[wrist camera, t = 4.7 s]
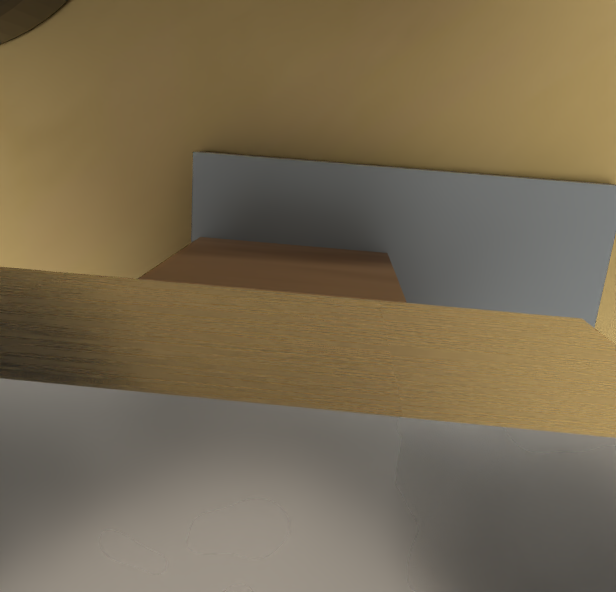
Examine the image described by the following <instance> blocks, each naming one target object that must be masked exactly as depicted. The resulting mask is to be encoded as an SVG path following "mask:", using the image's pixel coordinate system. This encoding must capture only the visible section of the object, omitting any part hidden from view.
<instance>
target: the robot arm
mask: <svg viewBox="0 0 616 592" xmlns="http://www.w3.org/2000/svg"><path fill="white" fill-rule="evenodd" d="M66 1H67V0H0V44H1V43H4V42H6V41H8V40H11V39H13V38H16V37H17V36H19V35H21V34H23V33H25V32H27V31H29V30H30V29H32V28H33V27H35V26H37V25H38V24H40V23H41V22H43V21H44V20H45V19H47V18H48V17H49V16H50V15H52V14H53V13H54V12H56V11H57V10H58V9H59V8H60V7H61V6H62V5H63V4H64V3H65V2H66Z"/></svg>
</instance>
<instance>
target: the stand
mask: <svg viewBox="0 0 616 592" xmlns="http://www.w3.org/2000/svg"><path fill="white" fill-rule="evenodd" d="M138 279H142V280H153V281H165V282H176V283H187V284H198V285H210V286H221V287H232V288H243V289H255V290H266V291H277V292H289V293H300V294H311V295H322V296H334V297H345V298H356V299H367V300H379V301H390V302H401V303H407V302H406V299H405V297H404V294H403V292H402V289H401V286H400V284H399V281H398V279H397V276H396V274H395V271H394V269H393V266H392V263H391V261H390V258H389V256H388V253H382V252H371V251H359V250H347V249H335V248H324V247H312V246H300V245H289V244H277V243H265V242H253V241H242V240H230V239H218V238H207V237H199V238H198V239H196V240H195V241H193V242H192V243H190V244H189V245H187V246H186V247H184V248H183V249H181V250H180V251H178V252H177V253H175V254H174V255H172V256H171V257H170V258H168V259H167V260H165V261H164V262H162V263H161V264H159V265H158V266H156V267H155V268H153V269H152V270H150V271H149V272H147V273H146V274H144V275H143V276H141V277H140V278H138Z"/></svg>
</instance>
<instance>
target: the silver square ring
mask: <svg viewBox="0 0 616 592" xmlns="http://www.w3.org/2000/svg"><path fill="white" fill-rule="evenodd" d="M0 592H616V345H615V344H614V343H613V342H611V341H610V340H609V339H608V338H606V337H605V336H604V335H602V334H601V333H600V332H599V331H597V330H596V329H595V328H594V327H592V326H591V325H590V324H588V323H587V322H586V321H585V320H583V319H582V318H570V317H559V316H548V315H537V314H525V313H514V312H503V311H491V310H480V309H469V308H458V307H446V306H435V305H424V304H413V303H401V302H390V301H379V300H367V299H356V298H345V297H334V296H322V295H311V294H300V293H289V292H277V291H266V290H255V289H243V288H232V287H221V286H210V285H198V284H187V283H176V282H165V281H153V280H142V279H131V278H119V277H108V276H97V275H86V274H74V273H63V272H52V271H41V270H29V269H18V268H7V267H0Z"/></svg>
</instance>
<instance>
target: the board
mask: <svg viewBox="0 0 616 592" xmlns="http://www.w3.org/2000/svg"><path fill="white" fill-rule="evenodd" d="M615 234H616V185H614V184H604V183H591V182H579V181H566V180H554V179H541V178H529V177H516V176H503V175H491V174H478V173H466V172H453V171H440V170H428V169H415V168H403V167H390V166H377V165H365V164H352V163H340V162H327V161H314V160H302V159H289V158H277V157H264V156H251V155H239V154H226V153H214V152H201V151H200V152H193V180H192V233H191V243H192V242H193V241H195V240H196V239H198V238H199V237H207V238H218V239H230V240H242V241H253V242H265V243H277V244H289V245H300V246H312V247H324V248H335V249H347V250H359V251H371V252H382V253H388V256H389V258H390V261H391V263H392V266H393V269H394V271H395V274H396V276H397V279H398V281H399V284H400V286H401V289H402V292H403V294H404V297H405V299H406V302H407V303H413V304H424V305H435V306H446V307H458V308H469V309H480V310H491V311H503V312H514V313H525V314H537V315H548V316H559V317H570V318H582V319H583V320H585V321H586V322H587V323H588V324H590V325H591V326H592V327H595V323H596V318H597V314H598V309H599V305H600V300H601V296H602V291H603V287H604V283H605V278H606V274H607V269H608V265H609V260H610V256H611V252H612V247H613V243H614V238H615Z"/></svg>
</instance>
